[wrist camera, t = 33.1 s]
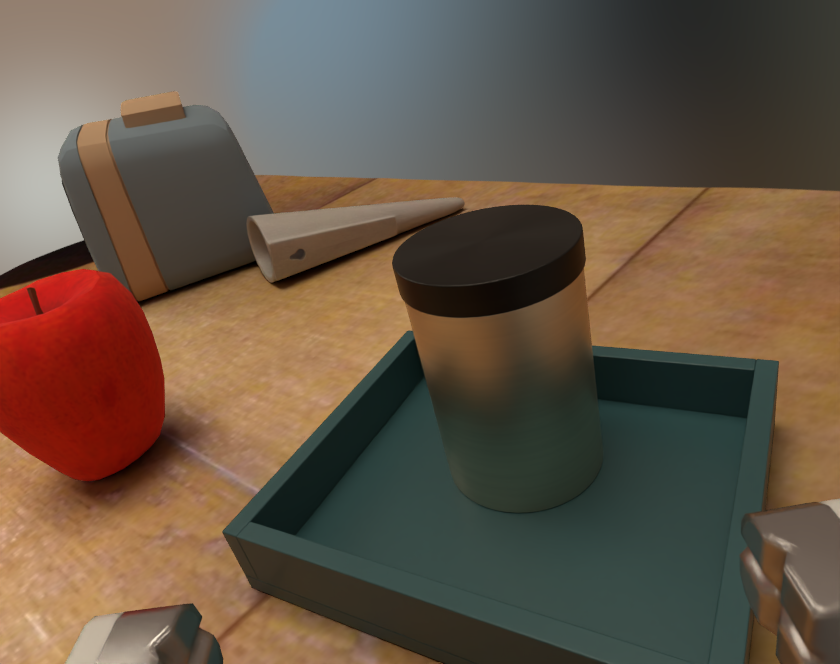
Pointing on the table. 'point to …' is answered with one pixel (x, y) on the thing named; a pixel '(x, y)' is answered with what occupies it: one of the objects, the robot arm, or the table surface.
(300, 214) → the long tapered cone
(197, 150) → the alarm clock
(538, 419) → the travel mug
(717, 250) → the table surface
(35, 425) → the apple
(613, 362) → the tray
